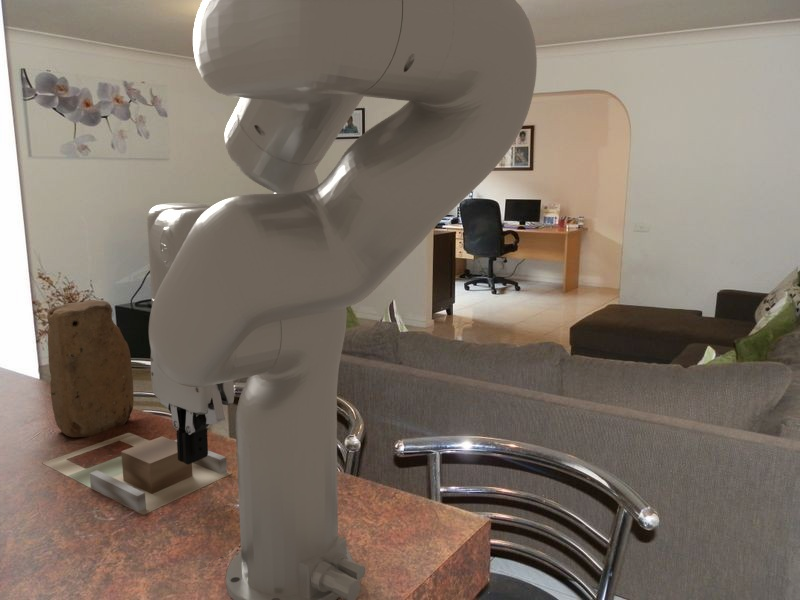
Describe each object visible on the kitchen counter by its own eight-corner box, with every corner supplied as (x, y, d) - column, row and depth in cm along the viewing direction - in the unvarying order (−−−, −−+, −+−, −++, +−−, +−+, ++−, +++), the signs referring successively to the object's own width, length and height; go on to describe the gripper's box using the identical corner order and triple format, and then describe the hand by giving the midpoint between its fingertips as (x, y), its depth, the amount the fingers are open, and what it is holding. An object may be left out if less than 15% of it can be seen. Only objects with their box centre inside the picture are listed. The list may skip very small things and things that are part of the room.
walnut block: (192, 476, 86) (190, 447, 85) (151, 494, 81) (149, 463, 81) (164, 464, 90) (162, 436, 89) (123, 480, 85) (121, 451, 84)
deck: (232, 480, 87) (231, 459, 87) (144, 522, 77) (142, 498, 76) (129, 438, 100) (128, 419, 100) (42, 469, 90) (40, 449, 89)
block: (71, 444, 98) (59, 312, 94) (50, 431, 103) (37, 304, 99) (141, 424, 106) (132, 301, 102) (119, 412, 111) (109, 294, 107)
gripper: (256, 316, 75) (259, 465, 79) (174, 297, 84) (180, 432, 88) (202, 329, 69) (208, 490, 73) (119, 307, 78) (128, 452, 82)
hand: (193, 458), depth 81 cm, fingers closed
